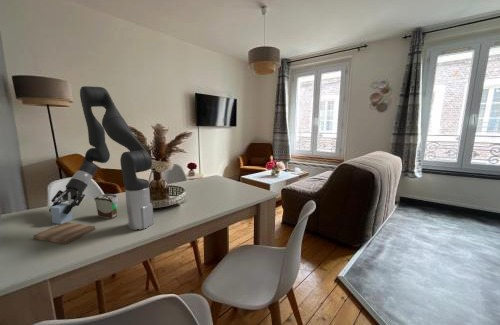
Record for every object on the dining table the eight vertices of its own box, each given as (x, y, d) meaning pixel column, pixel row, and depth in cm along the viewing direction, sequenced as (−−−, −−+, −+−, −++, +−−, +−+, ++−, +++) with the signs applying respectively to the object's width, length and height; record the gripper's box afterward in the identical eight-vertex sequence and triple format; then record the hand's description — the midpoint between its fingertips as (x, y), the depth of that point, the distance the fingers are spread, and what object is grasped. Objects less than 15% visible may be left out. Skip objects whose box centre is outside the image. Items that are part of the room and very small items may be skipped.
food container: (125, 214, 109) (124, 195, 108) (114, 219, 104) (112, 199, 102) (107, 211, 113) (105, 192, 112) (96, 215, 108) (93, 196, 106)
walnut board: (95, 229, 94) (94, 226, 93) (65, 244, 82) (65, 240, 82) (66, 225, 97) (65, 222, 97) (34, 238, 86) (33, 235, 86)
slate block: (72, 219, 103) (70, 204, 102) (61, 224, 99) (58, 208, 97) (64, 218, 105) (61, 203, 103) (52, 222, 100) (50, 207, 99)
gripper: (62, 176, 107) (38, 207, 98) (85, 178, 104) (63, 210, 95) (74, 184, 113) (53, 214, 104) (96, 186, 110) (77, 217, 101)
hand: (58, 212), depth 100 cm, fingers open, 8 cm apart
